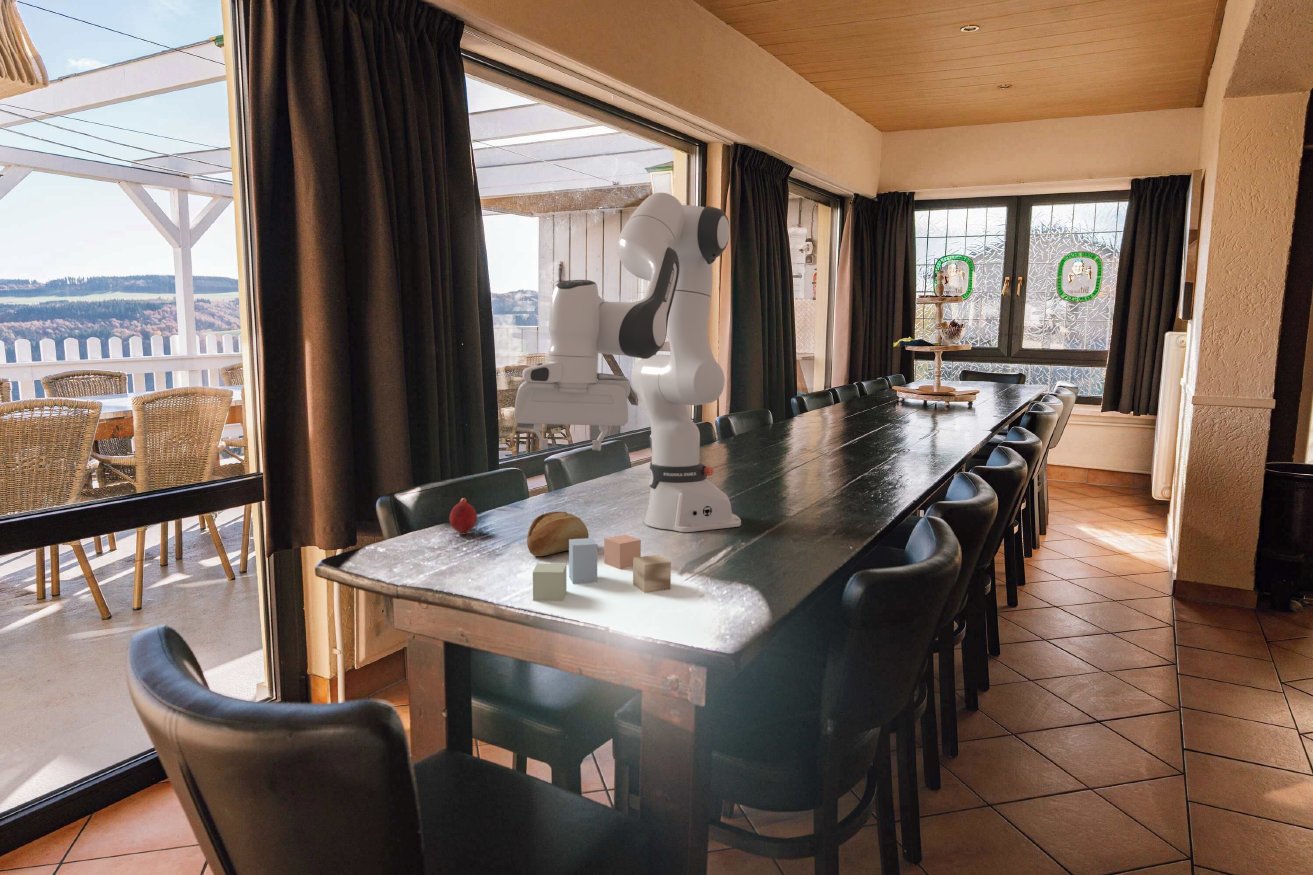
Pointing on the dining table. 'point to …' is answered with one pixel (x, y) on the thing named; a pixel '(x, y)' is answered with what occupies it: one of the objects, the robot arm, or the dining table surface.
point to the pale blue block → (583, 560)
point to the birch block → (651, 573)
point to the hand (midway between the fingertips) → (570, 449)
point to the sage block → (549, 582)
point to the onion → (463, 517)
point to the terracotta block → (621, 551)
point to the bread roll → (554, 533)
